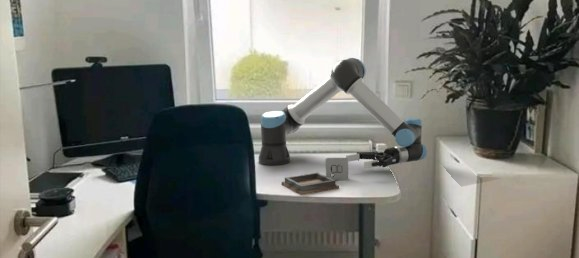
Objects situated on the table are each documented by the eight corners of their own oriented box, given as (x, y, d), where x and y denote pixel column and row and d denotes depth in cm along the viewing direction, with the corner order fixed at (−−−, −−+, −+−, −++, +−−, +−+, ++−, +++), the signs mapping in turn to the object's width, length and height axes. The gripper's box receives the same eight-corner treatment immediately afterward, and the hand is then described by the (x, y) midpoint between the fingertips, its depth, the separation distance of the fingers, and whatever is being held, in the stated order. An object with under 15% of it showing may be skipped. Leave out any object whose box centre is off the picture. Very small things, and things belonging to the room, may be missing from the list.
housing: (281, 184, 228) (281, 177, 228) (317, 178, 236) (317, 171, 235) (301, 195, 213) (301, 187, 213) (339, 188, 221) (339, 180, 221)
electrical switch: (325, 180, 232) (325, 158, 232) (325, 178, 238) (325, 156, 237) (348, 180, 232) (348, 158, 231) (347, 178, 237) (347, 156, 236)
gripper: (413, 169, 237) (372, 177, 228) (378, 158, 259) (339, 164, 250) (413, 152, 236) (372, 159, 227) (378, 142, 258) (339, 147, 248)
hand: (355, 161), depth 238 cm, fingers open, 13 cm apart
